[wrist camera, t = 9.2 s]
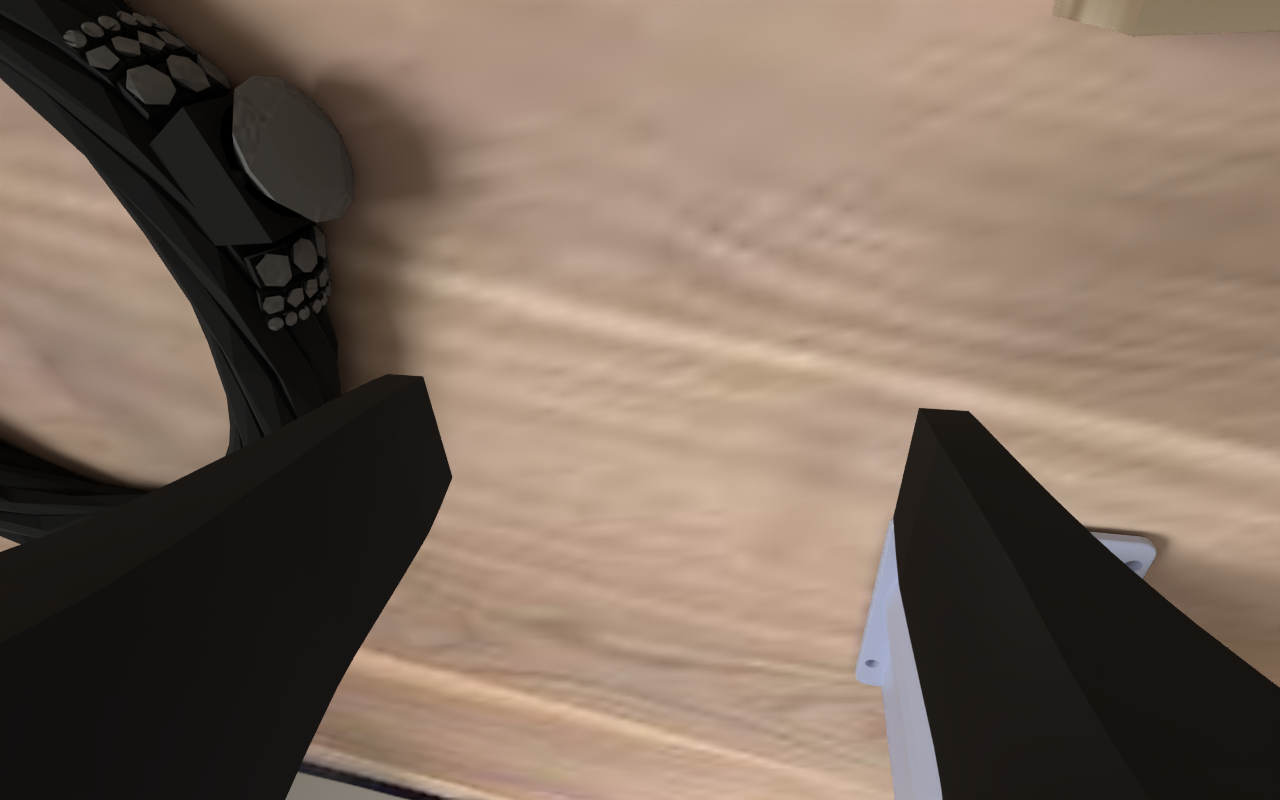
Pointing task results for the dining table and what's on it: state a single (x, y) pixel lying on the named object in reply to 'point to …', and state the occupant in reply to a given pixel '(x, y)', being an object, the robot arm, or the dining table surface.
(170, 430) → the dining table surface
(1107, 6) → the beige socket block
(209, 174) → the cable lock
